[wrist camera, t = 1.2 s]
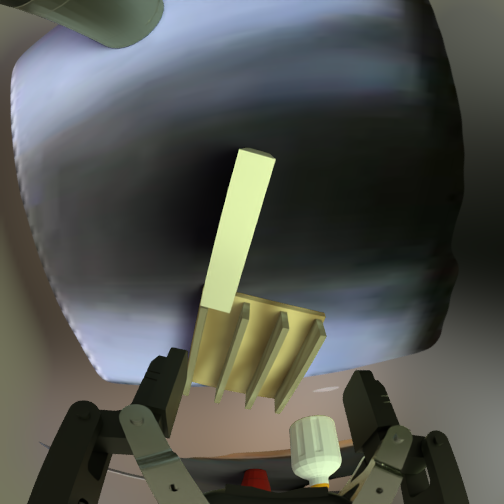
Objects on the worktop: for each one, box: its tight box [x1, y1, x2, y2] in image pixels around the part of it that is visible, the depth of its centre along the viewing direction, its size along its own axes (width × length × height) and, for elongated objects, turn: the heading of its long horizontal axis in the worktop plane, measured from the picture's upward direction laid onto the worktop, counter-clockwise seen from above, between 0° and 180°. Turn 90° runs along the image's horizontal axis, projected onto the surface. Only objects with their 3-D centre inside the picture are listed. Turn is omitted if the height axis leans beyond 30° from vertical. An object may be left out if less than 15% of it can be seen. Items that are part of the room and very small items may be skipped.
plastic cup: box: [241, 469, 271, 491], centre depth 51 cm, size 11×11×12 cm
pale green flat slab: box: [200, 148, 276, 313], centre depth 25 cm, size 2×12×12 cm, turn 164°
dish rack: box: [183, 284, 327, 414], centre depth 36 cm, size 16×18×4 cm
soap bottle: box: [289, 415, 341, 487], centre depth 35 cm, size 9×9×25 cm
